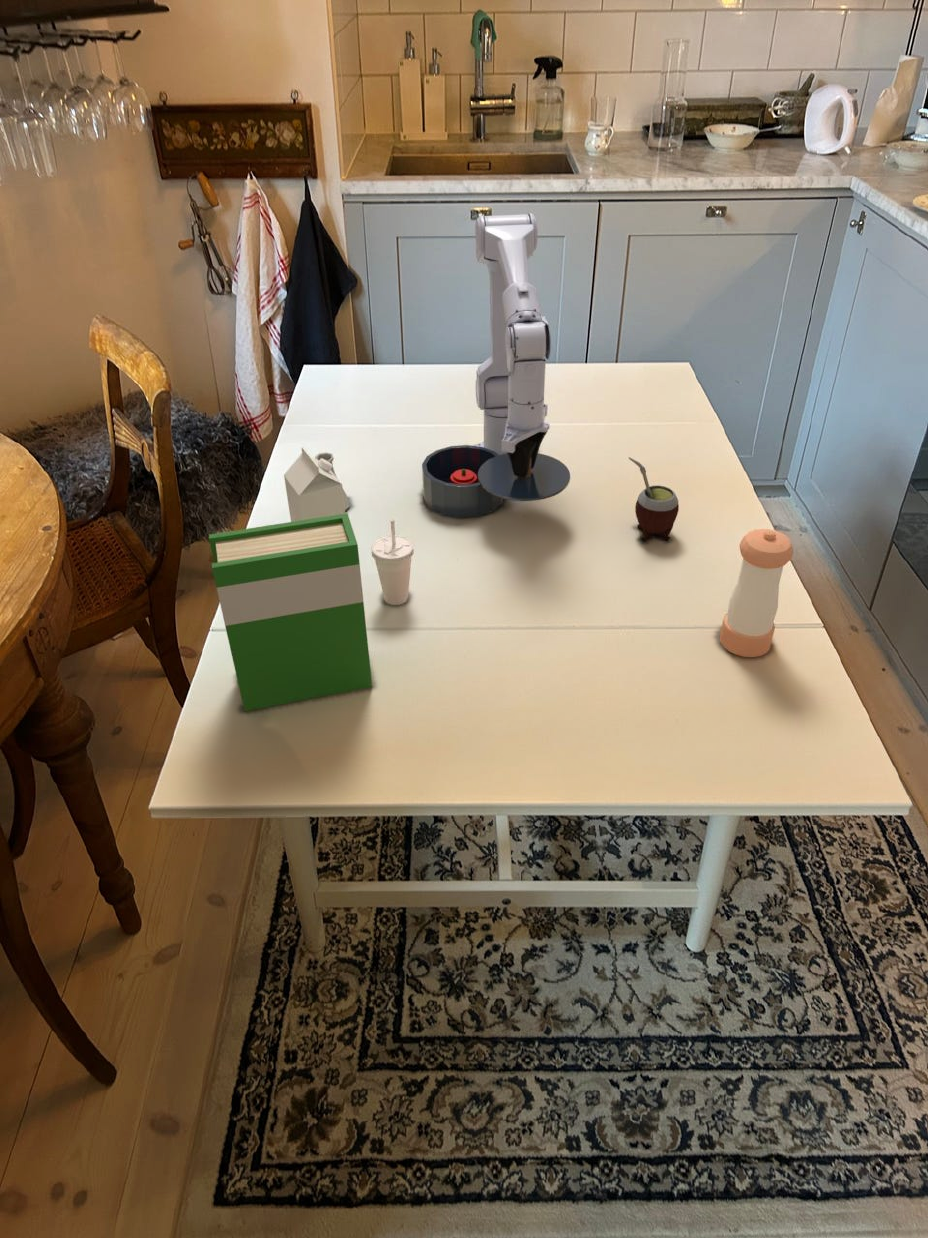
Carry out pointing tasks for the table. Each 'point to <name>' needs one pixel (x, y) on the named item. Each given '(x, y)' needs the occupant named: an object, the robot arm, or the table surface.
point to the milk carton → (313, 489)
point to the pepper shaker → (756, 593)
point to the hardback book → (293, 609)
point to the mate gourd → (655, 509)
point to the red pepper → (463, 477)
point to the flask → (330, 458)
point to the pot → (457, 496)
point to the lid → (535, 486)
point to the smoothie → (393, 565)
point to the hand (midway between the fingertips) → (523, 471)
